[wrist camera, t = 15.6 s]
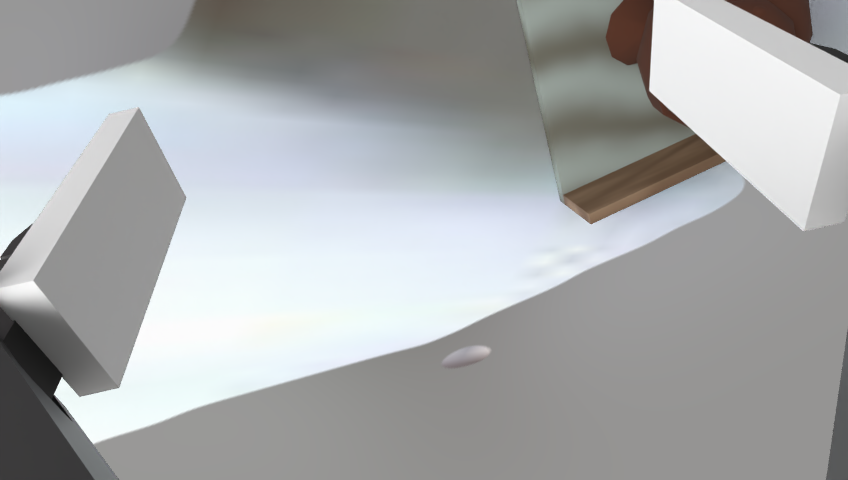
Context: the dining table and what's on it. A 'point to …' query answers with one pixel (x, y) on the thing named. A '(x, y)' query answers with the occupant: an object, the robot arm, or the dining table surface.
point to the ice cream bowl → (633, 25)
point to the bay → (601, 113)
